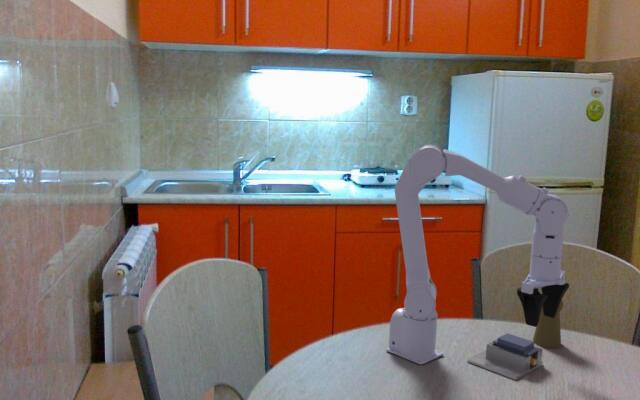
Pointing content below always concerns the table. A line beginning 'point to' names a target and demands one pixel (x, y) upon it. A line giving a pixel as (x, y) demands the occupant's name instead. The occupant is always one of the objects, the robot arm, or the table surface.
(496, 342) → the blue-grey long block
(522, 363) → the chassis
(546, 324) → the cork
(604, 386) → the table surface
